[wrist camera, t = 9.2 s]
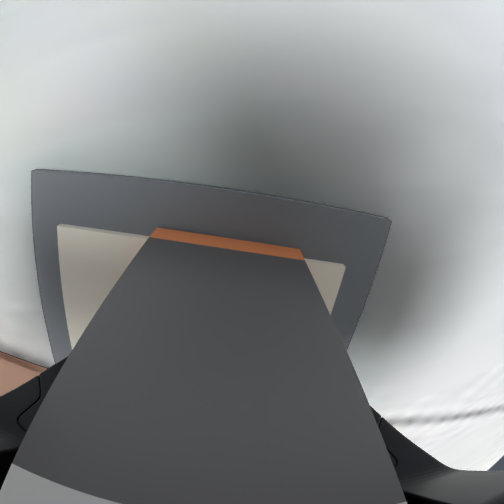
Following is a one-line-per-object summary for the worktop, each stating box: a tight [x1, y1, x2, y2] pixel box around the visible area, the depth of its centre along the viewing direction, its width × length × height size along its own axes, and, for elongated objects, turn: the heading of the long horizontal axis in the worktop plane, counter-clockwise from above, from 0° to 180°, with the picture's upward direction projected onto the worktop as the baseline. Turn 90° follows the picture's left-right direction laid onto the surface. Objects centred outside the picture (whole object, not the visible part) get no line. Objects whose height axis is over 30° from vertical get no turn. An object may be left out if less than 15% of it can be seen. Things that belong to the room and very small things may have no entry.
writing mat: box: [31, 169, 392, 364], centre depth 14 cm, size 18×14×1 cm
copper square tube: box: [0, 352, 47, 396], centre depth 13 cm, size 8×8×4 cm
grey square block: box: [0, 227, 407, 504], centre depth 7 cm, size 5×5×10 cm
